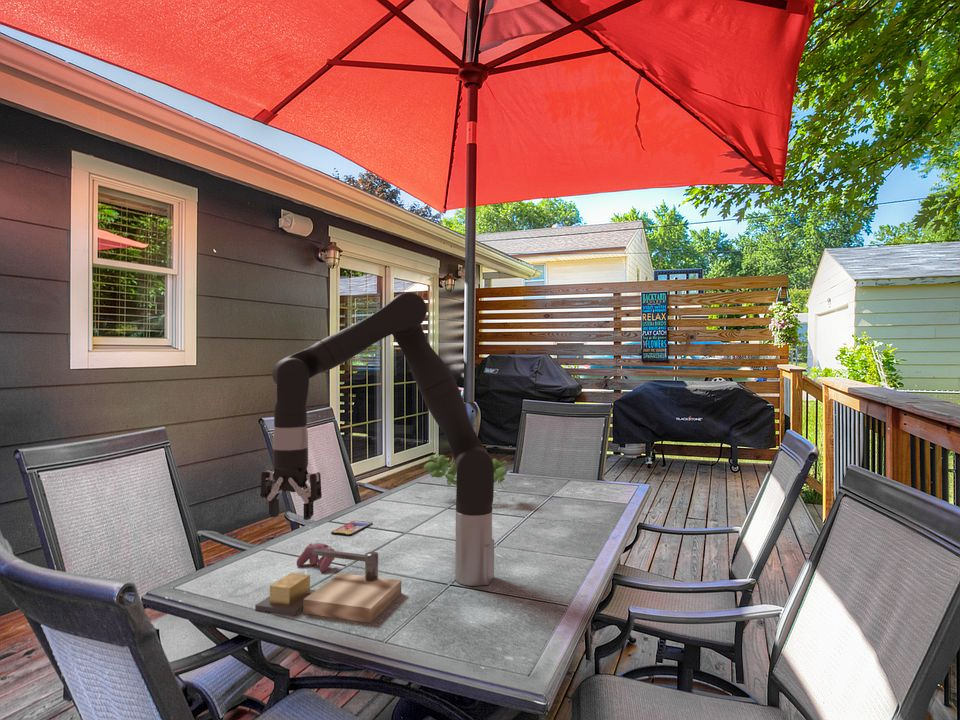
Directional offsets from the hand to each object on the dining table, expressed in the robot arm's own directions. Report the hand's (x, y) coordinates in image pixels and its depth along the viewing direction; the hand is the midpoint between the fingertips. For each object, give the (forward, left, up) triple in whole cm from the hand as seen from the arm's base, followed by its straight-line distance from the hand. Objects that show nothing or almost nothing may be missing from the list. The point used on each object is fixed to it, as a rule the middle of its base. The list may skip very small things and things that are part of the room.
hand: (290, 517), depth 128 cm
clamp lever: (-8, -11, -16) cm, 21 cm away
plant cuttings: (-11, -105, -19) cm, 107 cm away
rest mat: (0, 0, -19) cm, 19 cm away
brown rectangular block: (0, 0, -18) cm, 18 cm away
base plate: (-14, -4, -19) cm, 24 cm away
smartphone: (+14, -55, -20) cm, 60 cm away
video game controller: (+7, -22, -20) cm, 30 cm away
